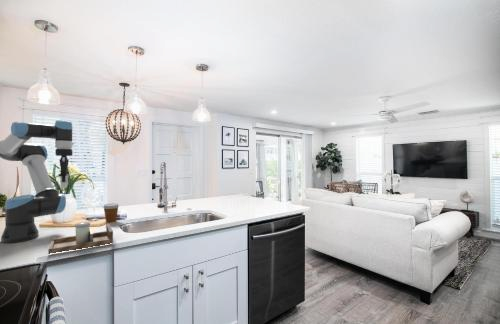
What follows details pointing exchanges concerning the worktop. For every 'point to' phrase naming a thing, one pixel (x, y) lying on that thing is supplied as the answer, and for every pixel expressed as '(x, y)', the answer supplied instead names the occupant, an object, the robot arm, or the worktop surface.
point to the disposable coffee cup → (111, 212)
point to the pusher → (91, 234)
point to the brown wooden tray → (70, 243)
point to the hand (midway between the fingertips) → (64, 186)
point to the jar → (82, 232)
